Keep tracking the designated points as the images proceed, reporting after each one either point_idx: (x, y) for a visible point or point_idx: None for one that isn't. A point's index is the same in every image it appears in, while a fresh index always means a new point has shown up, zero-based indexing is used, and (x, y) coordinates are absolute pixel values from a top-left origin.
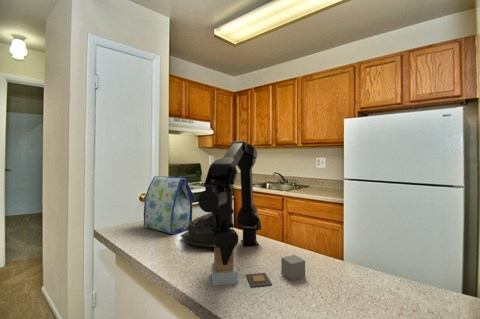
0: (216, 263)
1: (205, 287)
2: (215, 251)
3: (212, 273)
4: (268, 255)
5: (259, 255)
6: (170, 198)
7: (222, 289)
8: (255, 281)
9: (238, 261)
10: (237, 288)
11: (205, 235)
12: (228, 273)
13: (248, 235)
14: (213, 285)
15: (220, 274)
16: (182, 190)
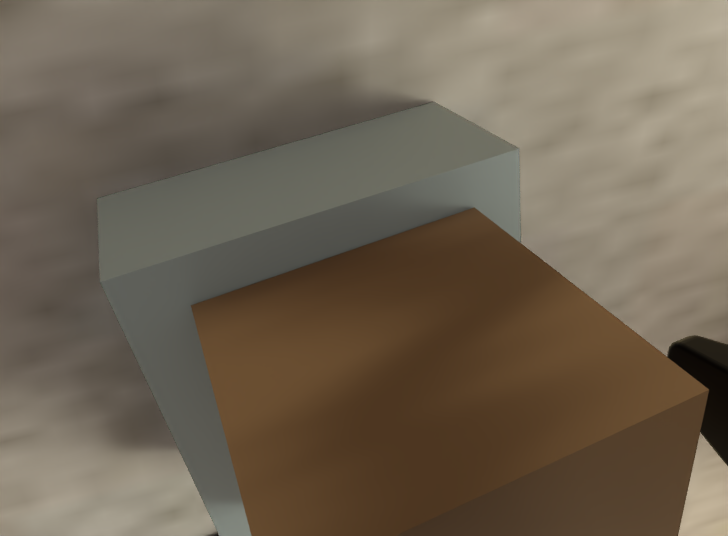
0: (223, 414)
1: (8, 96)
2: (465, 510)
3: (229, 216)
4: (688, 514)
5: (710, 460)
6: None
7: (14, 341)
8: None
9: (660, 335)
10: (84, 477)
11: None
12: (187, 467)
13: None
14: (99, 204)
15: (145, 375)
16: None
